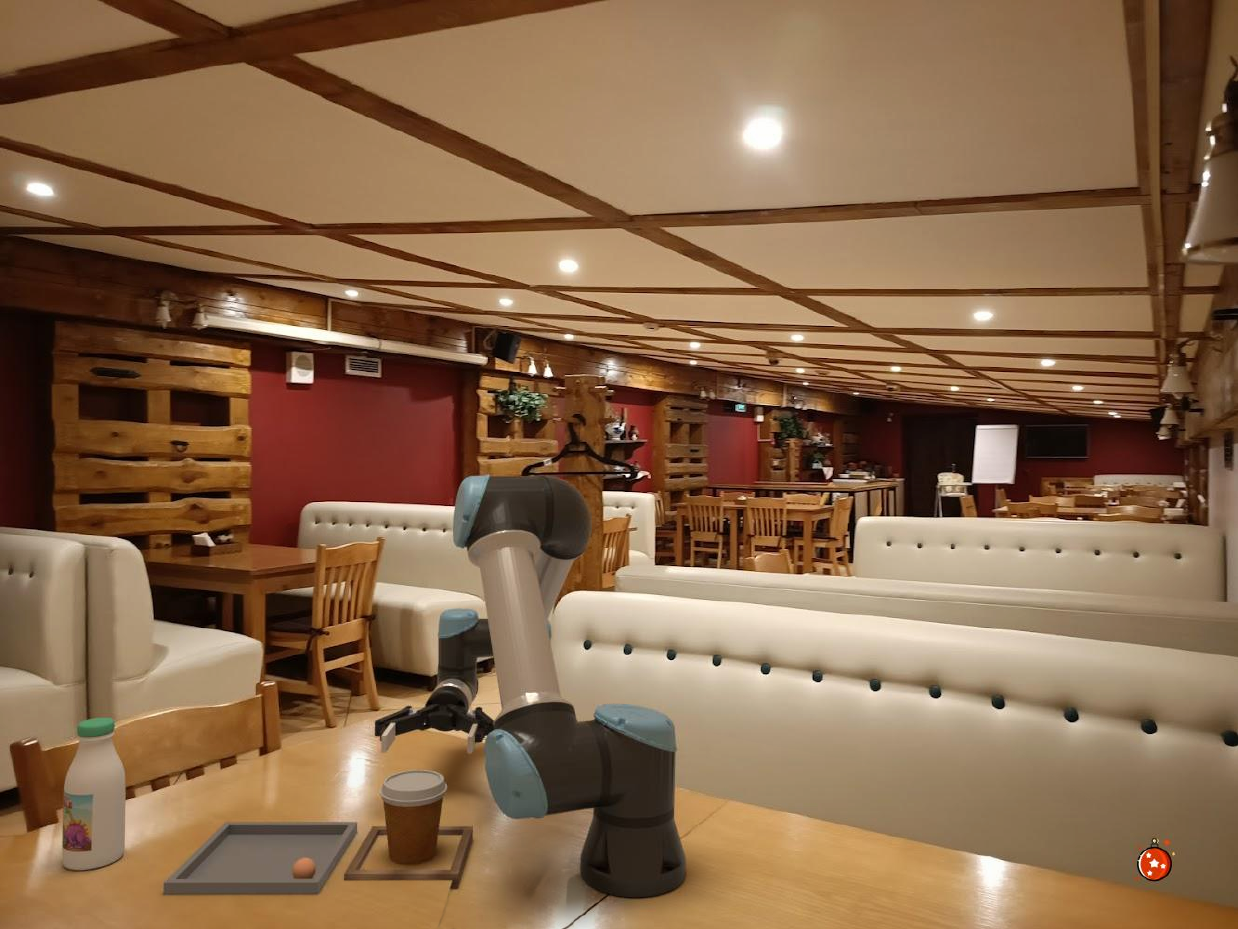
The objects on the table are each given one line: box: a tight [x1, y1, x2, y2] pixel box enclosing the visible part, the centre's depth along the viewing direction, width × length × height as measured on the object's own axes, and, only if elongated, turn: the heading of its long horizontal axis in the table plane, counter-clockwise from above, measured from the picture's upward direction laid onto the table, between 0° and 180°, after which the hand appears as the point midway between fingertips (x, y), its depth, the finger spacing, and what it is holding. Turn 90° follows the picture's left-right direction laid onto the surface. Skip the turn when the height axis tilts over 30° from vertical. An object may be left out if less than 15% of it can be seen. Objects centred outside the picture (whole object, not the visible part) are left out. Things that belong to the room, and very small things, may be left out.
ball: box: [292, 858, 316, 879], centre depth 116 cm, size 3×3×3 cm
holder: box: [343, 825, 474, 890], centre depth 124 cm, size 15×15×2 cm
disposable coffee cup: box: [379, 769, 448, 866], centre depth 124 cm, size 10×10×12 cm
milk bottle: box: [61, 717, 126, 871], centre depth 123 cm, size 8×8×20 cm
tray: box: [163, 821, 358, 896], centre depth 121 cm, size 20×19×3 cm
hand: (426, 744), depth 136 cm, fingers open, 13 cm apart
